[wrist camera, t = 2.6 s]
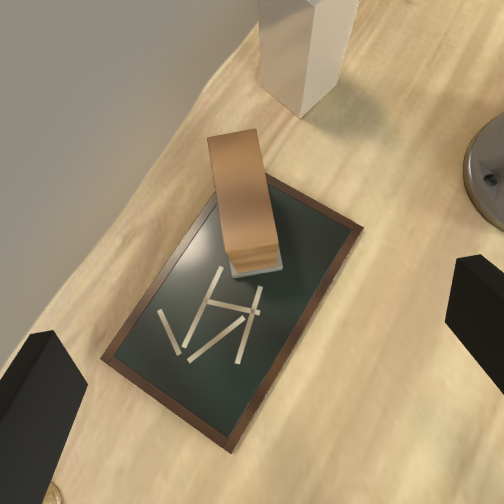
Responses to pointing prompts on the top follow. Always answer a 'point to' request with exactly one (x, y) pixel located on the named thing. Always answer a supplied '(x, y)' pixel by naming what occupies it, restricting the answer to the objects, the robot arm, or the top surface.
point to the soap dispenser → (303, 48)
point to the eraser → (244, 204)
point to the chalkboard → (230, 315)
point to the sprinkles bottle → (52, 495)
